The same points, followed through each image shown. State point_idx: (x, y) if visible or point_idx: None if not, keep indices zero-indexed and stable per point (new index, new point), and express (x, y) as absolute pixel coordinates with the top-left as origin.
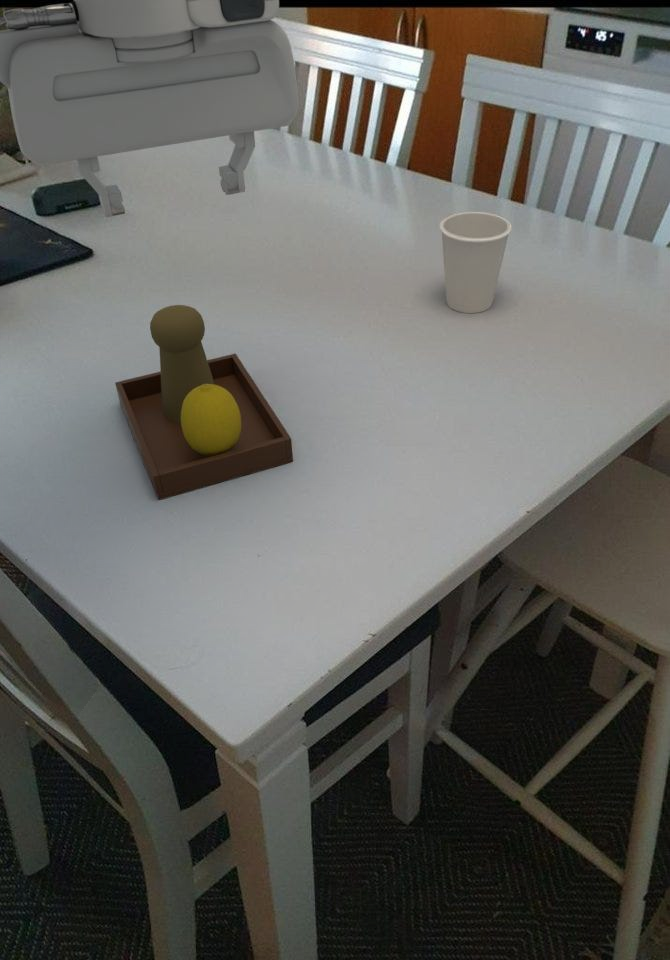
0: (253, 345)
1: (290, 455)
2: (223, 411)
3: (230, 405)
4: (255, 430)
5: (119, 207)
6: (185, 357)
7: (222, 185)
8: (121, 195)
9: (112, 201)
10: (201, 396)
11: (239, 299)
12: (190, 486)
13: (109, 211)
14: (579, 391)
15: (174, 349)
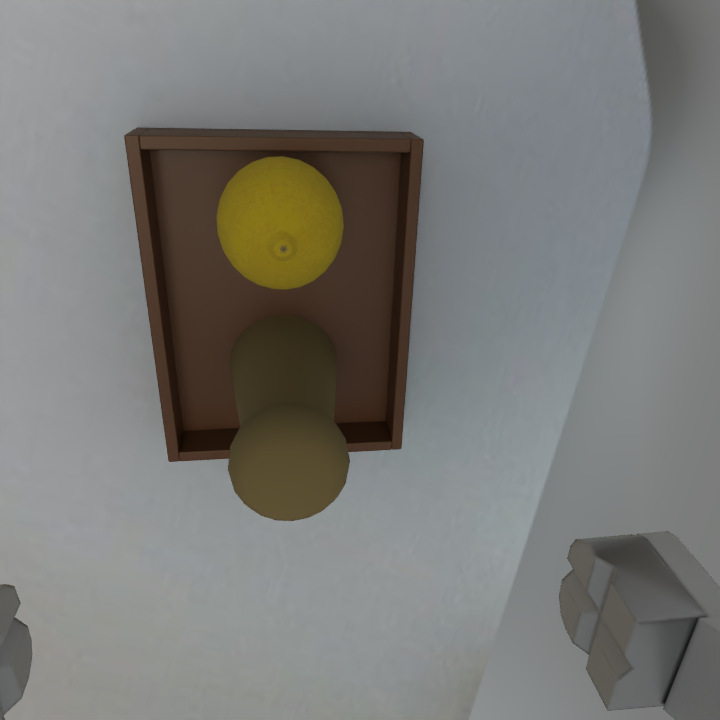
0: (125, 509)
1: (138, 129)
2: (259, 182)
3: (238, 199)
4: (187, 247)
5: (617, 557)
6: (289, 394)
7: (18, 661)
8: (628, 605)
9: (667, 582)
10: (299, 225)
11: (118, 642)
12: (350, 132)
13: (664, 542)
14: None
15: (311, 406)
